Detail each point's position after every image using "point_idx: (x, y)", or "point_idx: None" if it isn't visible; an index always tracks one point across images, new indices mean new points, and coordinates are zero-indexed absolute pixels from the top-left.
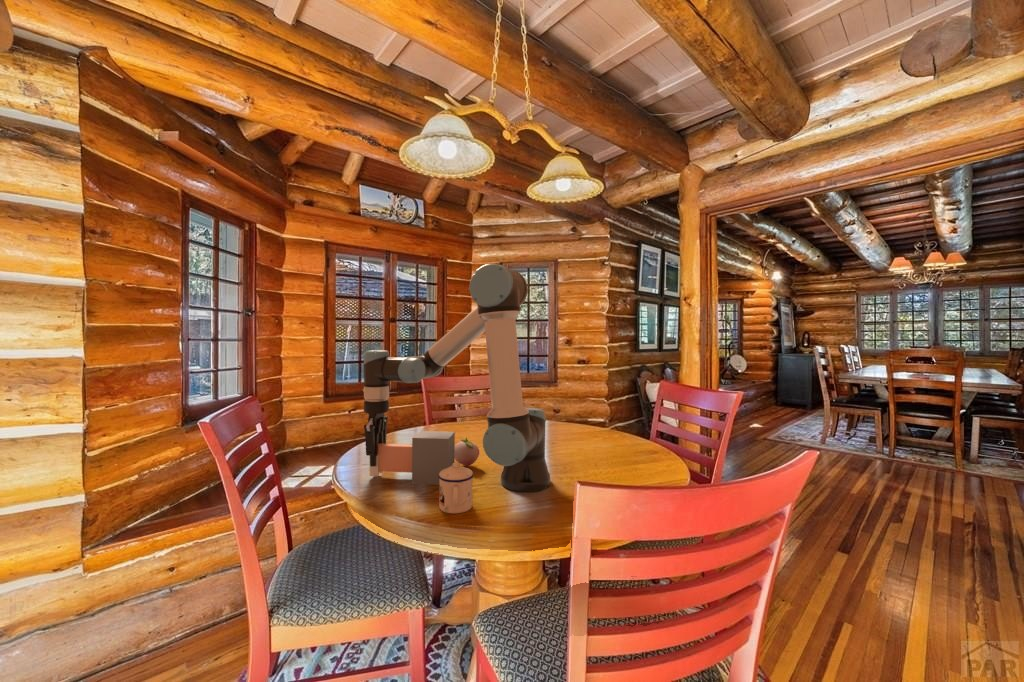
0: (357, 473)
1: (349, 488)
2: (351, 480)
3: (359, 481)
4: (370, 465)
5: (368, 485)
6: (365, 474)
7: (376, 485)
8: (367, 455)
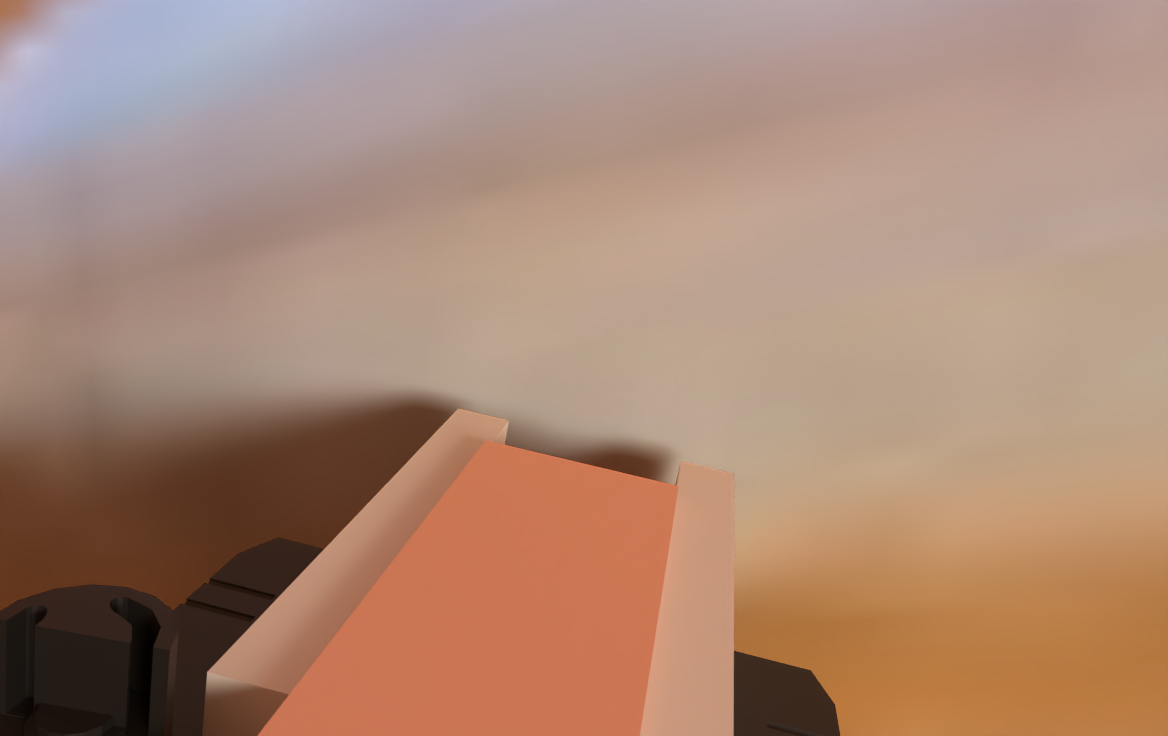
0: (885, 37)
1: (16, 111)
2: (422, 25)
3: (362, 215)
4: (252, 554)
5: (171, 423)
6: (783, 248)
7: (178, 552)
8: (82, 621)
